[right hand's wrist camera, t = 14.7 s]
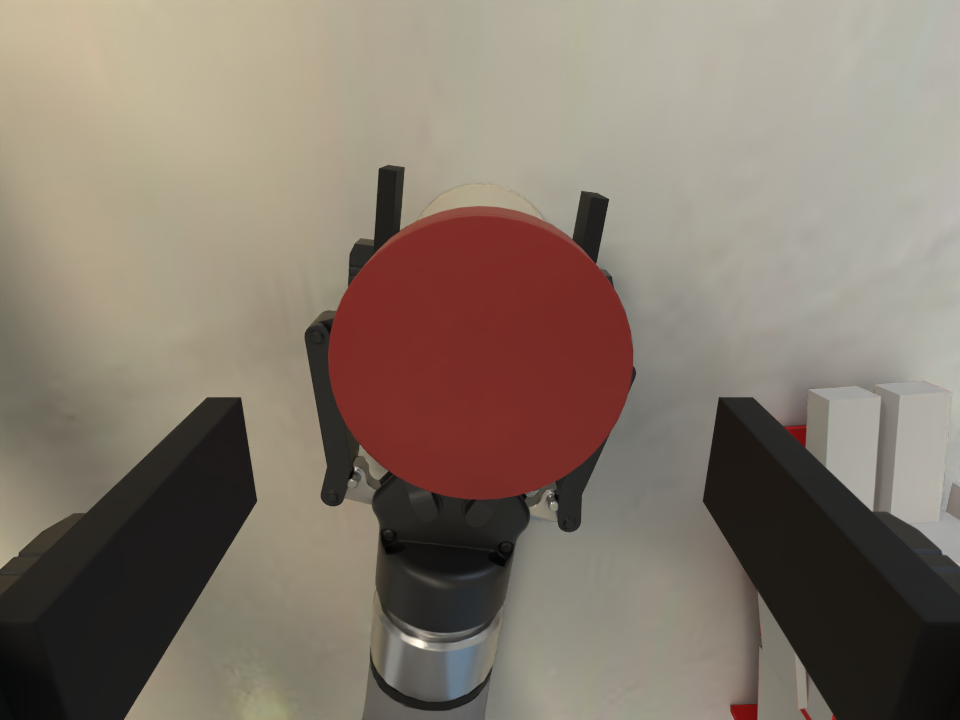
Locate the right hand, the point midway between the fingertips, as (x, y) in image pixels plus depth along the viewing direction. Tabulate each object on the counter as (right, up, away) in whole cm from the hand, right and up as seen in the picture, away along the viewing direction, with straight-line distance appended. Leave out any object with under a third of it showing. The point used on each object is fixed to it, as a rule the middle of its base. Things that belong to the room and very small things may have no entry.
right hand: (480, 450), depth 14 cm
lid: (0, +2, +5) cm, 5 cm away
